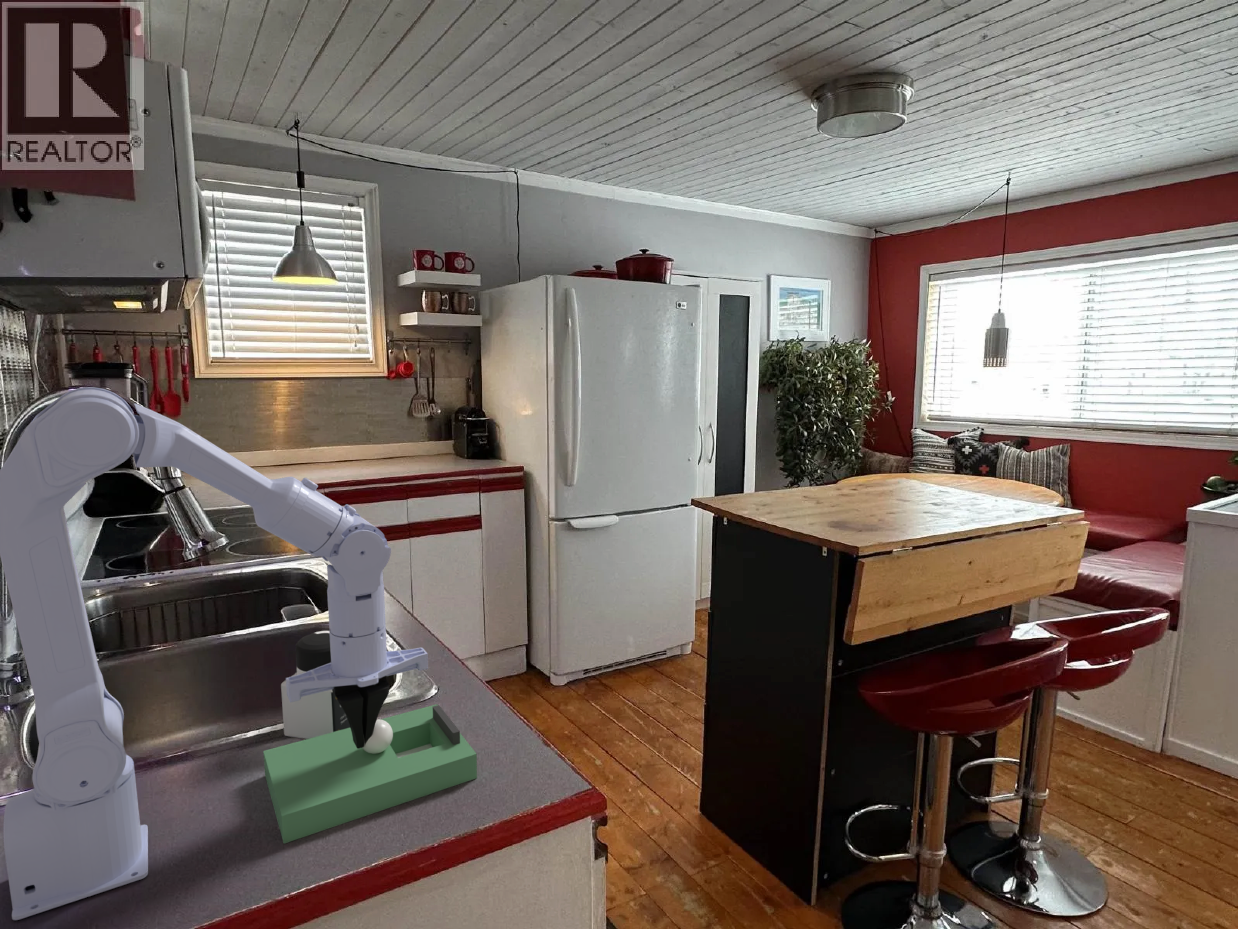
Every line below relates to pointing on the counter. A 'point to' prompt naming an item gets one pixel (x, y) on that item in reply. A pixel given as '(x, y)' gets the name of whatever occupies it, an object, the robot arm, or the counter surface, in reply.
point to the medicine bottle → (316, 709)
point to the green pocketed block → (364, 772)
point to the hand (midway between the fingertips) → (363, 742)
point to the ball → (379, 738)
